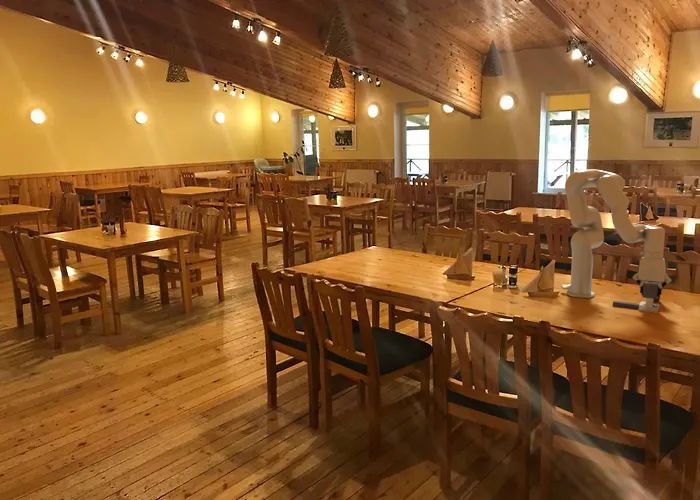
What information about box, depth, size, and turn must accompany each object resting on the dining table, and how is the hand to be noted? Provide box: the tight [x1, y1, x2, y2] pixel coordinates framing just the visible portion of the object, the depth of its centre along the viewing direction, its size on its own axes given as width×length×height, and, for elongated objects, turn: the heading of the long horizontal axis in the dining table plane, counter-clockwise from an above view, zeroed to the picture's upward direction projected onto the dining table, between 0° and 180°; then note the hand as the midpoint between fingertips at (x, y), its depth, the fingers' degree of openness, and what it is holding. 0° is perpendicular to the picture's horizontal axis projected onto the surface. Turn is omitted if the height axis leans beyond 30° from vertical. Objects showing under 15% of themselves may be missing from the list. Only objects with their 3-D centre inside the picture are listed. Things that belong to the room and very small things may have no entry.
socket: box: [642, 281, 659, 299], centre depth 257 cm, size 6×6×6 cm
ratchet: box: [612, 298, 660, 314], centre depth 262 cm, size 18×7×6 cm, turn 57°
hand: (650, 295), depth 258 cm, fingers closed on socket, 5 cm apart
